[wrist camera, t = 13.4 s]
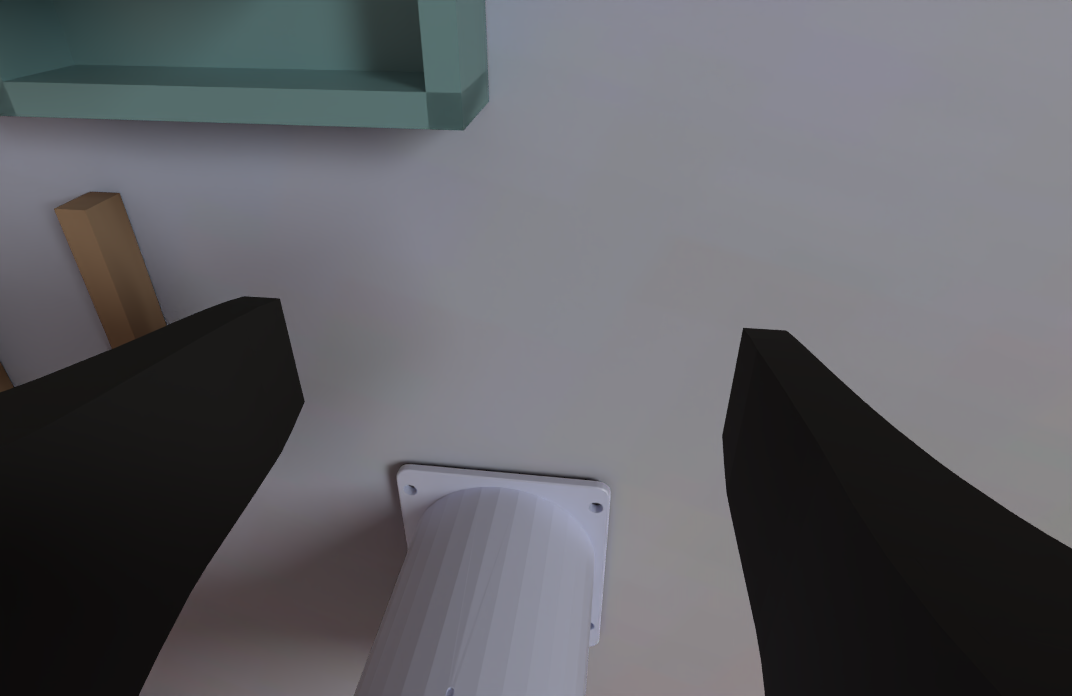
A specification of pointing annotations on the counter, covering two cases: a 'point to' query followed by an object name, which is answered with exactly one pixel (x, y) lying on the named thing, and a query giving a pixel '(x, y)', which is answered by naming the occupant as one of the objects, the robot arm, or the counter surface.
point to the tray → (247, 61)
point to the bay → (109, 268)
